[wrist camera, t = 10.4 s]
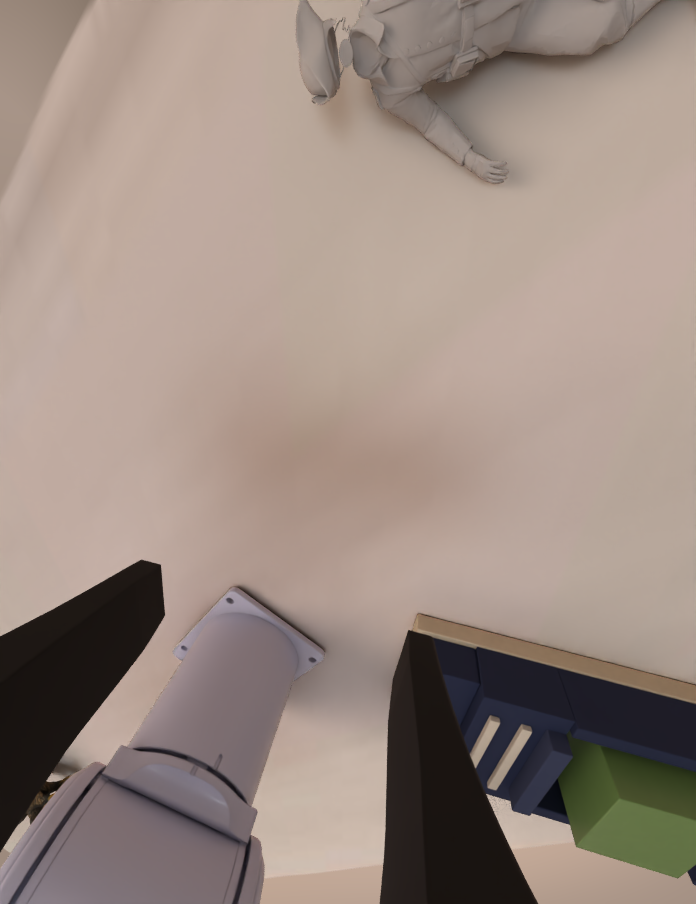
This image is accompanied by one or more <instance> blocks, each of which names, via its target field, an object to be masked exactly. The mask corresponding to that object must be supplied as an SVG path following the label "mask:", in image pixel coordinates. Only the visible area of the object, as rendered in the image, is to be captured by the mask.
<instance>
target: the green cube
mask: <svg viewBox="0 0 696 904" xmlns="http://www.w3.org/2000/svg"><path fill="white" fill-rule="evenodd" d="M567 738H568V741H569V745H570V748H571V751H572V754H573V758H572V759H571V761H570V762H569V763H568V765H567V766H566V767H565V769H564V770H563V772H562V773H561V774H560V776H559V777H558V782H559V786H560V789H561V793H562V797H563V800H564V804H565V808H566V811H567V815H568V819H569V822H570V826H571V830H572V834H573V837H574V841H575V845H576V847H578V848H581V849H585V850H588V851H591V852H594V853H598V854H600V855H604V856H607V857H610V858H614V859H617V860H620V861H623V862H627V863H630V864H633V865H636V866H639V867H643V868H646V869H649V870H653V871H656V872H659V873H662V874H665V875H669V876H672V877H675V878H679V877H680V876H682V875H683V874H684V873H686V872H687V871H688V870H690V869H691V868H692V867H693V866H695V865H696V772H694V771H690V770H687V769H683V768H680V767H676V766H672V765H669V764H665V763H662V762H658V761H655V760H651V759H647V758H644V757H640V756H637V755H633V754H630V753H626V752H622V751H619V750H615V749H612V748H608V747H605V746H601V745H597V744H594V743H590V742H587V741H583V740H580V739H576V738H573V737H572V736H571V732H570V730H569V732H568V733H567Z"/></svg>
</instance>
